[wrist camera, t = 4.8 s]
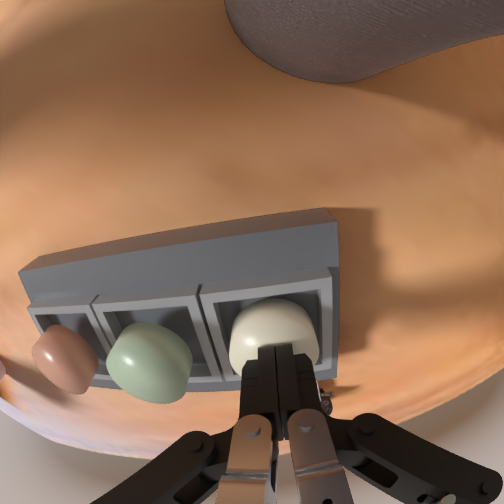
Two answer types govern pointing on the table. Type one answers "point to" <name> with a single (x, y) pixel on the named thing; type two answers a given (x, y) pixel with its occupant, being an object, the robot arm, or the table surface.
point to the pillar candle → (357, 32)
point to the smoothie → (2, 370)
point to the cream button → (271, 331)
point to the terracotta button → (65, 359)
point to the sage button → (150, 363)
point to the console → (194, 288)
